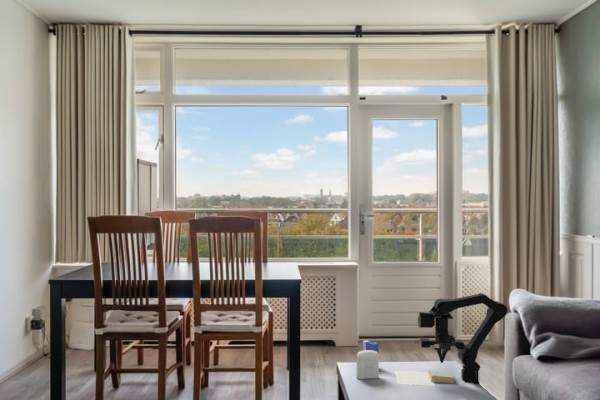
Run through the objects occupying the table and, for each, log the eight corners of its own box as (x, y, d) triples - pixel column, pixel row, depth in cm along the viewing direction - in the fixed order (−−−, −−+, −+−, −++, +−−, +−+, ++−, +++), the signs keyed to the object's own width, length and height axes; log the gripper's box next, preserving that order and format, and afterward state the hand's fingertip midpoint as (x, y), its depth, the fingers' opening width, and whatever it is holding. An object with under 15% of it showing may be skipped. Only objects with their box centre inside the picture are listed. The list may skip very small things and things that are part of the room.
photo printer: (377, 375, 205) (377, 348, 206) (379, 378, 201) (380, 351, 201) (355, 376, 204) (355, 349, 204) (357, 379, 200) (358, 352, 200)
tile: (428, 375, 204) (450, 378, 203) (431, 381, 197) (454, 384, 196) (428, 369, 204) (450, 372, 203) (431, 375, 197) (454, 377, 196)
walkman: (378, 367, 215) (378, 343, 215) (374, 369, 213) (374, 344, 214) (366, 363, 221) (366, 339, 222) (362, 364, 219) (362, 340, 220)
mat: (429, 373, 208) (429, 372, 208) (435, 387, 192) (435, 385, 192) (394, 371, 210) (394, 370, 210) (398, 385, 194) (398, 383, 194)
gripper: (423, 331, 193) (423, 367, 193) (467, 333, 191) (467, 370, 191) (419, 325, 204) (419, 359, 204) (461, 326, 202) (461, 361, 202)
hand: (441, 362), depth 200 cm, fingers closed
